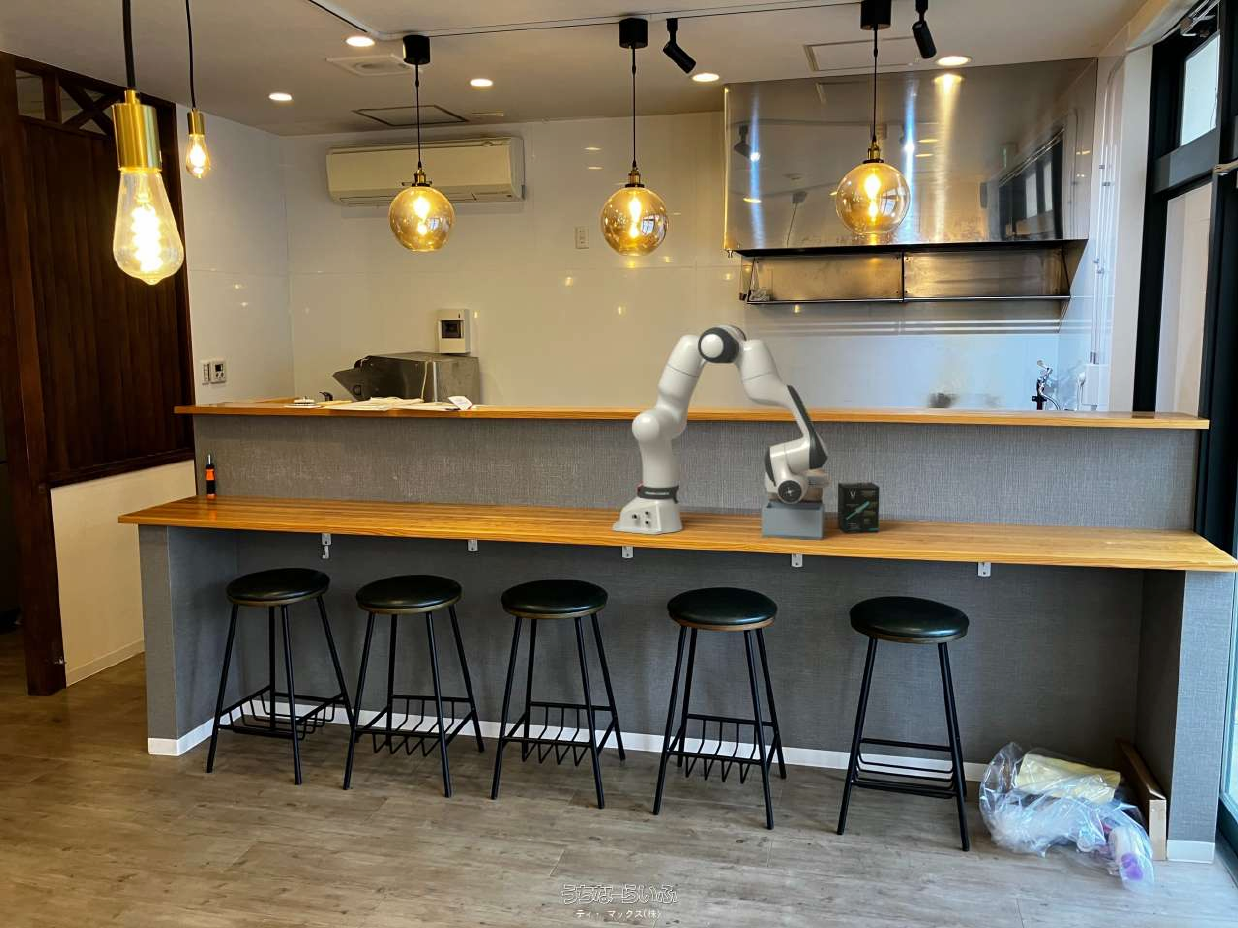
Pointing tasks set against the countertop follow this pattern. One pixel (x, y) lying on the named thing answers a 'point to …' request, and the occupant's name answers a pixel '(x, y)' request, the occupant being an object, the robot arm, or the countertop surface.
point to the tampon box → (858, 507)
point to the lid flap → (811, 495)
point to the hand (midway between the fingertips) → (798, 475)
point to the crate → (793, 520)
